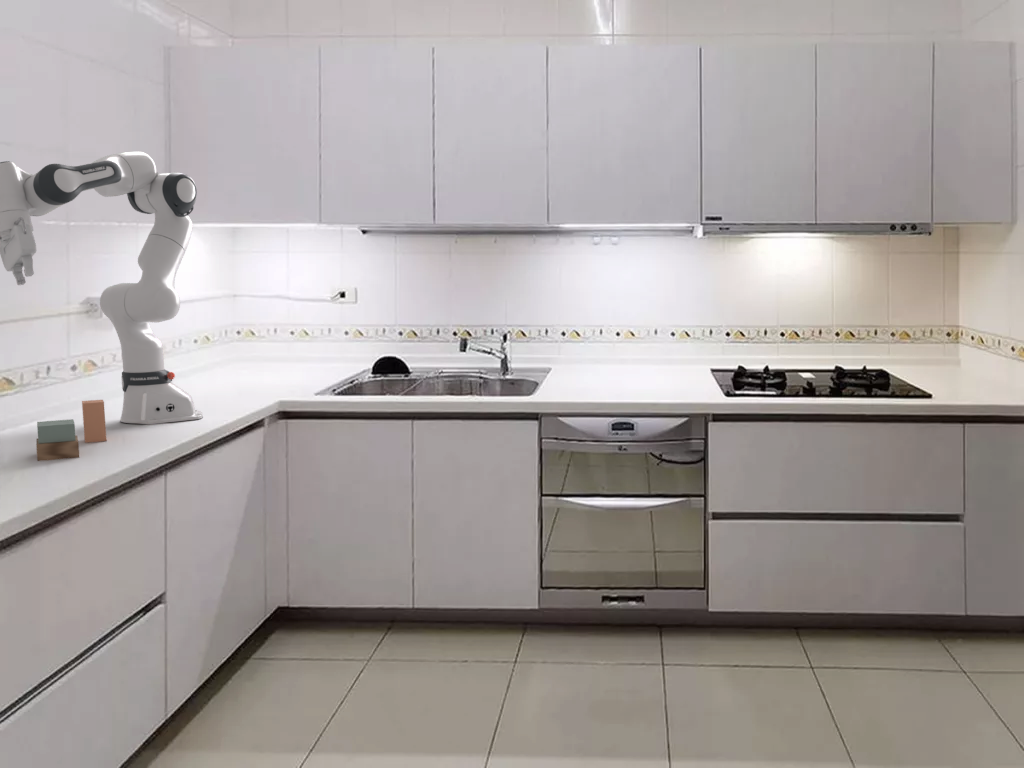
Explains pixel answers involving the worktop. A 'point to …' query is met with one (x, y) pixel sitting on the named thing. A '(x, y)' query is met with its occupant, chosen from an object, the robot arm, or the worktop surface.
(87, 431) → the pillar
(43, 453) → the tower base
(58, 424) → the tower top
